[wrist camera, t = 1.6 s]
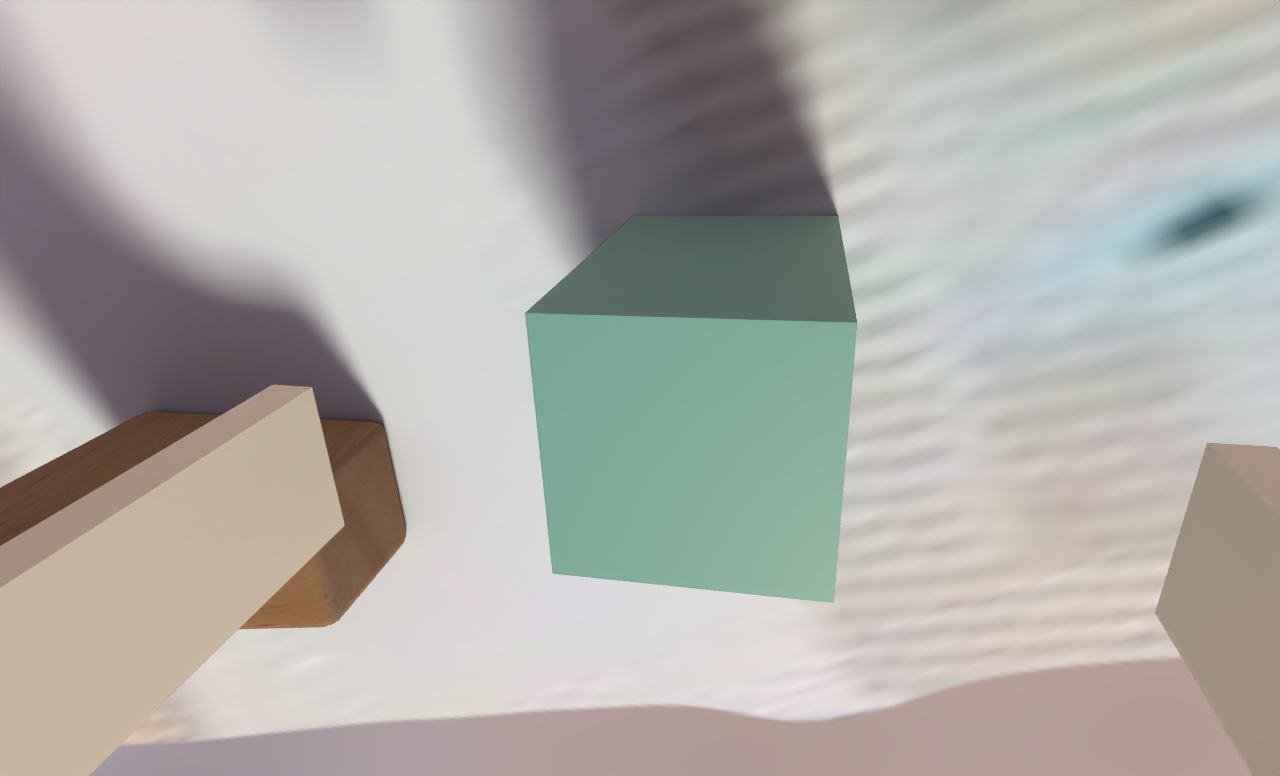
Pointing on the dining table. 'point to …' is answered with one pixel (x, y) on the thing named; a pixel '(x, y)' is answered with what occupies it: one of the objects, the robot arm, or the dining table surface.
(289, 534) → the robot arm
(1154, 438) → the dining table surface
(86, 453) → the wooden block
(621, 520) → the teal block
